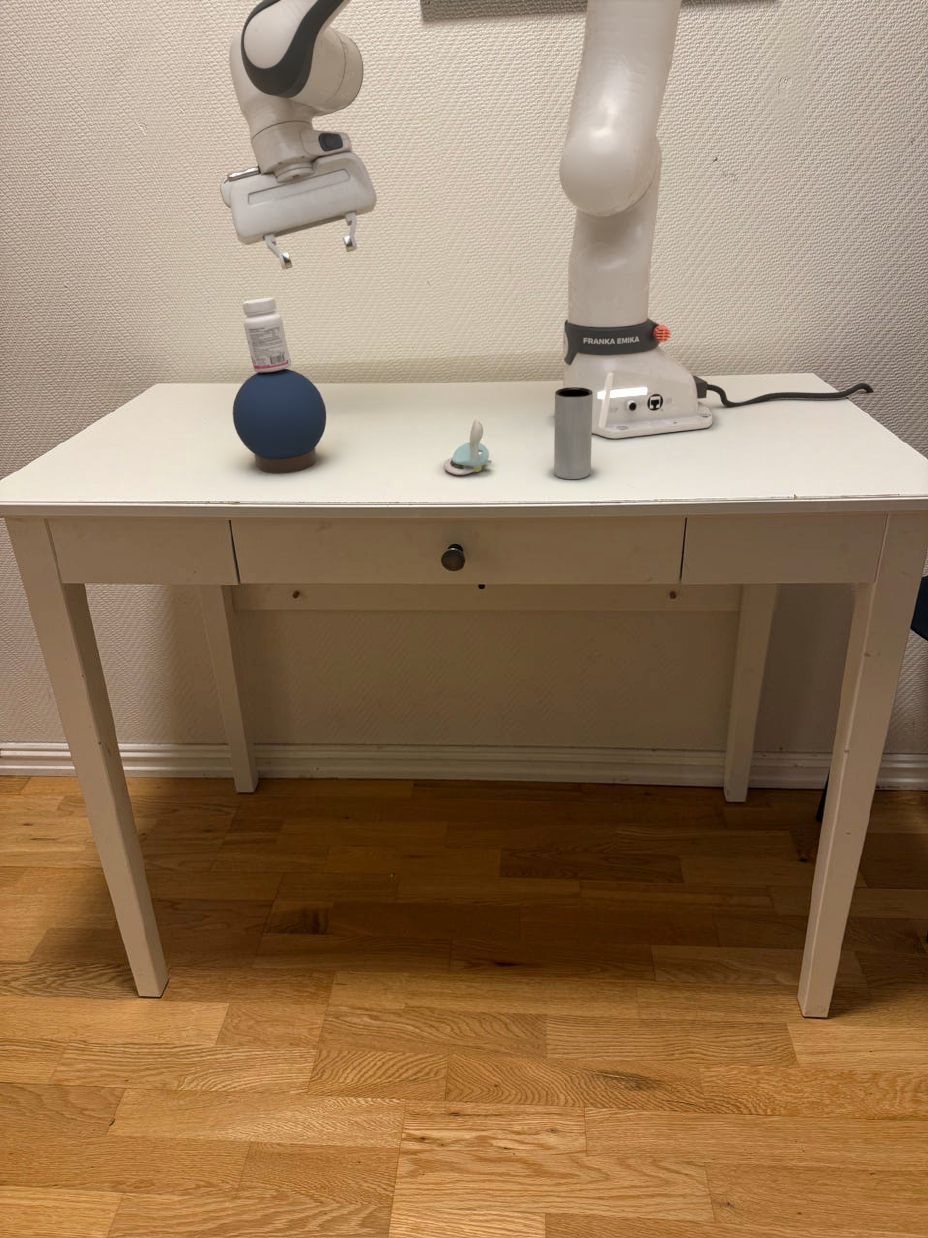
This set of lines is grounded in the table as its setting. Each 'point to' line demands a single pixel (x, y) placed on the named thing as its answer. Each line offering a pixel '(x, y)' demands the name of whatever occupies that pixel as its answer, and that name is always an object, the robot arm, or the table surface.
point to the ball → (279, 414)
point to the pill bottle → (265, 335)
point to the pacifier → (470, 453)
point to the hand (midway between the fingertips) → (319, 258)
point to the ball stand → (286, 463)
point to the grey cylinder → (573, 432)
